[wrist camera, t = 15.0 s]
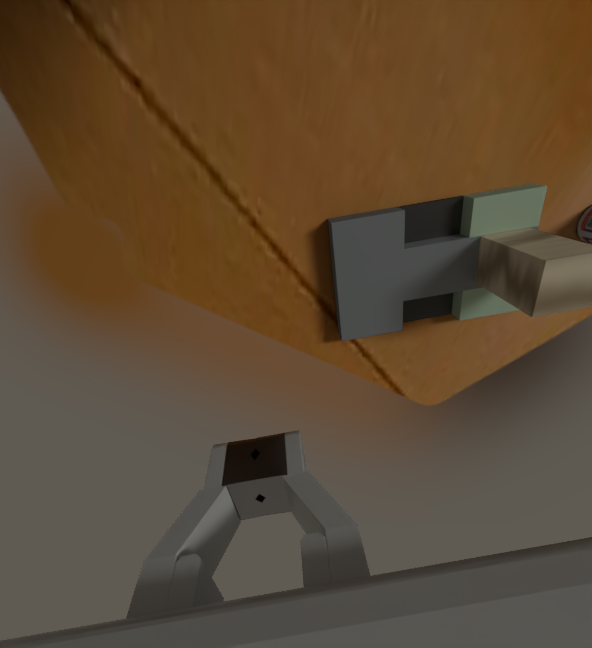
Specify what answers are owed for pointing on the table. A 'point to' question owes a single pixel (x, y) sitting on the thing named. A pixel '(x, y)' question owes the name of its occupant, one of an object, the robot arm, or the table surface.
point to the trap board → (422, 259)
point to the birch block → (536, 271)
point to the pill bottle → (585, 226)
